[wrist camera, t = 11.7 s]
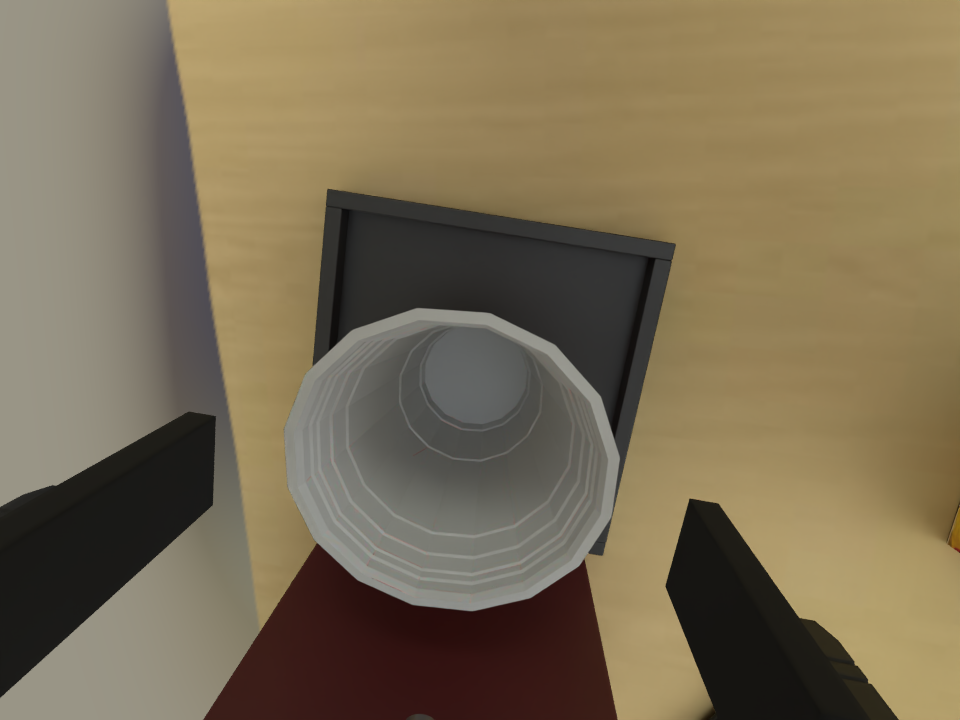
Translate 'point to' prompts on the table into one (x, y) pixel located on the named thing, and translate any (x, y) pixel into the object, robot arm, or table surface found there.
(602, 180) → the table surface
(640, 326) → the drip tray
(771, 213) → the table surface
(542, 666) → the coffee maker
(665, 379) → the table surface
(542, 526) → the plastic cup
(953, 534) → the beverage box
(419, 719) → the steel brick
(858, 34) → the table surface
